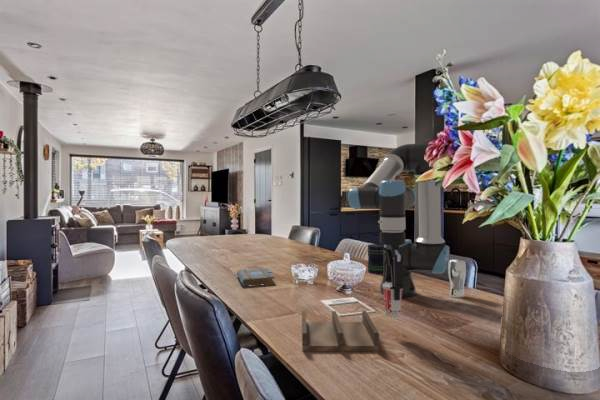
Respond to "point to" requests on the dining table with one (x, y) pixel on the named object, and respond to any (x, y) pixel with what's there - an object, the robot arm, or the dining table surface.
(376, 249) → the storage jar
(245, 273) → the book
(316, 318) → the dining table surface
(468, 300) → the dining table surface
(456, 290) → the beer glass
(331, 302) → the photo frame
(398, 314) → the beverage cup
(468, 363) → the dining table surface
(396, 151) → the robot arm
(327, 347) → the divided wooden tray
